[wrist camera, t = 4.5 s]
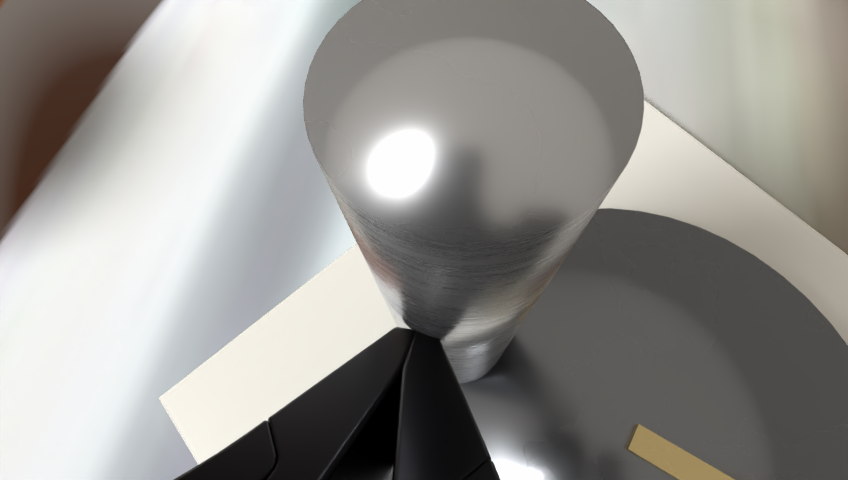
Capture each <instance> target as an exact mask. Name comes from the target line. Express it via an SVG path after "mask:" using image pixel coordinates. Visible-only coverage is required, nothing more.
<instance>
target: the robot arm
mask: <svg viewBox="0 0 848 480" xmlns="http://www.w3.org/2000/svg"><path fill="white" fill-rule="evenodd" d="M392 469H393V474H392V480H501V479H500V477H499V474H498V472H497V470H496V467H495V465H494V463H493V461H491V456H490V454H489V452H488V449H487V447H486V445H485V442H484V440H483V438H482V435H481V433H480V431H479V428H478V426H477V424H476V421H475V419H474V417H473V414H472V412H471V410H470V407H469V405H468V403H467V400H466V398H465V396H464V393H463V391H462V389H461V386H460V384H459V382H458V379H457V377H456V375H455V372H454V370H453V368H452V365H451V363H450V361H449V358H448V356H447V354H446V351H445V349H444V347H443V344H442V342H441V340H440V339H439V338H435V337H431V336H428V335H426V334H423V333H420V332H418V331H415V330H413V329H408V328H401V327H395V328H393V329H392V330H390V331H389V332H388V333H386V334H385V335H383V336H382V337H381V338H379V339H378V340H376V341H375V342H374V343H372V344H371V345H369V346H368V347H367V348H365V349H364V350H362V351H361V352H360V353H358V354H357V355H355V356H354V357H353V358H351V359H350V360H348V361H347V362H346V363H344V364H343V365H341V366H340V367H339V368H337V369H336V370H334V371H333V372H332V373H330V374H329V375H327V376H326V377H325V378H323V379H322V380H320V381H319V382H318V383H316V384H315V385H313V386H312V387H311V388H309V389H308V390H306V391H305V392H304V393H302V394H301V395H299V396H298V397H297V398H295V399H294V400H293V401H291V402H290V403H288V404H287V405H286V406H284V407H283V408H281V409H280V410H279V411H277V412H276V413H274V414H273V415H272V416H270V417H269V418H268V421H266V420H265V421H263V422H261V423H260V424H259V425H257V426H256V427H254V428H253V429H252V430H250V431H249V432H247V433H246V434H245V435H243V436H242V437H240V438H239V439H237V440H236V441H234V442H233V443H231V444H230V445H228V446H227V447H225V448H224V449H222V450H221V451H219V452H218V453H216V454H215V455H213V456H212V457H210V458H208V459H207V460H205V461H203V462H202V463H200V464H199V465H197V466H195V467H194V468H192V469H190V470H189V471H187V472H185V473H184V474H182V475H181V476H179V477H177V478H175V479H174V480H389V478H390V475H391V472H392Z"/></svg>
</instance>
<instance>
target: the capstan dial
mask: <svg viewBox="0 0 848 480" xmlns="http://www.w3.org/2000/svg"><path fill="white" fill-rule="evenodd" d="M303 106H304V121H305V126H306V131H307V135H308V139H309V141H310V144H311V147H312V149H313V152H314V154H315V157H316V159H317V161H318V163H319V165H320V167H321V169H322V171H323V173H324V175H325V177H326V179H327V182H328V184H329V186H330V188H331V190H332V192H333V194H334V196H335V198H336V200H337V202H338V204H339V206H340V209H341V211H342V213H343V215H344V217H345V219H346V221H347V223H348V225H349V227H350V229H351V231H352V233H353V236H354V238H355V240H356V242H357V244H358V246H359V248H360V250H361V252H362V254H363V256H364V258H365V261H366V263H367V265H368V267H369V269H370V271H371V273H372V275H373V277H374V279H375V281H376V283H377V285H378V288H379V290H380V292H381V294H382V296H383V298H384V300H385V302H386V304H387V306H388V308H389V310H390V312H391V315H392V317H393V319H394V321H395V323H396V325H397V327H401V328H408V329H413V330H415V331H418V332H420V333H423V334H426V335H428V336H431V337H435V338H439V339H440V340H441V342H442V344H443V347H444V349H445V351H446V354H447V356H448V358H449V361H450V363H451V365H452V368H453V370H454V372H455V375H456V377H457V379H458V382H459V384H460V386H461V389H462V391H463V393H464V396H465V398H466V400H467V403H468V405H469V407H470V410H471V412H472V414H473V417H474V419H475V421H476V424H477V426H478V428H479V431H480V433H481V435H482V438H483V440H484V442H485V445H486V447H487V449H488V452H489V454H490V456H491V461H493V463H494V465H495V467H496V470H497V472H498V474H499V477H500V479H501V480H848V345H847V344H846V343H845V341H844V340H843V339H842V337H841V336H840V335H839V333H838V332H837V331H836V329H835V328H834V327H833V325H832V324H831V323H830V322H829V321H828V320H827V318H826V317H825V316H824V315H823V314H822V313H821V312H820V311H819V310H818V309H817V308H816V307H815V306H814V304H813V303H812V302H811V301H810V300H809V299H808V298H807V297H806V296H805V295H804V294H803V293H801V292H800V291H799V290H798V289H797V288H796V287H795V286H794V285H792V284H791V283H790V282H789V281H788V280H787V279H786V278H784V277H783V276H782V275H781V274H780V273H778V272H777V271H775V270H774V269H773V268H771V267H770V266H769V265H767V264H766V263H764V262H763V261H762V260H760V259H759V258H757V257H756V256H755V255H753V254H751V253H749V252H748V251H746V250H744V249H743V248H741V247H739V246H737V245H736V244H734V243H732V242H730V241H729V240H727V239H725V238H723V237H720V236H718V235H716V234H714V233H711V232H709V231H707V230H705V229H702V228H700V227H698V226H695V225H692V224H689V223H686V222H683V221H679V220H676V219H673V218H670V217H666V216H661V215H657V214H652V213H647V212H642V211H634V210H624V209H613V208H602V209H598V208H599V207H600V205H601V204H602V202H603V201H604V199H605V198H606V196H607V195H608V193H609V192H610V190H611V189H612V187H613V186H614V184H615V183H616V181H617V180H618V178H619V176H620V175H621V173H622V172H623V170H624V169H625V167H626V166H627V164H628V162H629V160H630V158H631V156H632V154H633V152H634V150H635V148H636V145H637V142H638V139H639V135H640V132H641V129H642V122H643V114H644V95H643V86H642V82H641V77H640V72H639V70H638V67H637V64H636V62H635V59H634V56H633V54H632V52H631V51H630V49H629V47H628V45H627V44H626V42H625V40H624V38H623V37H622V36H621V35H620V33H619V32H618V31H617V29H616V28H615V27H614V25H613V24H612V23H611V22H610V21H609V20H608V19H607V18H606V17H605V16H604V15H603V14H602V13H601V12H600V11H599V10H598V9H596V8H595V7H594V6H592V5H591V4H590V3H589V2H587V1H586V0H362V1H361V2H359V3H358V4H357V5H355V6H354V7H353V8H351V9H350V10H349V11H348V12H347V13H346V14H345V15H344V16H343V17H342V18H341V19H340V20H339V21H338V22H337V23H336V24H335V25H334V26H333V28H332V29H331V30H330V31H329V33H328V34H327V35H326V37H325V38H324V40H323V41H322V43H321V45H320V46H319V48H318V49H317V51H316V54H315V56H314V58H313V61H312V63H311V65H310V68H309V72H308V75H307V79H306V83H305V90H304V99H303ZM392 474H393V469H392V472H391V475H390V478H389V480H392Z"/></svg>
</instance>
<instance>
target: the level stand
mask: <svg viewBox="0 0 848 480" xmlns="http://www.w3.org/2000/svg"><path fill="white" fill-rule="evenodd" d="M602 208H613V209H624V210H634V211H642V212H647V213H652V214H657V215H661V216H666V217H670V218H673V219H676V220H679V221H683V222H686V223H689V224H692V225H695V226H698V227H700V228H702V229H705V230H707V231H709V232H711V233H714V234H716V235H718V236H720V237H723V238H725V239H727V240H729V241H730V242H732V243H734V244H736V245H737V246H739V247H741V248H743V249H744V250H746V251H748V252H749V253H751V254H753V255H755V256H756V257H757V258H759V259H760V260H762V261H763V262H764V263H766V264H767V265H769V266H770V267H771V268H773V269H774V270H775V271H777V272H778V273H780V274H781V275H782V276H783V277H784V278H786V279H787V280H788V281H789V282H790V283H791V284H792V285H794V286H795V287H796V288H797V289H798V290H799V291H800V292H801V293H803V294H804V295H805V296H806V297H807V298H808V299H809V300H810V301H811V302H812V303H813V304H814V306H815V307H816V308H817V309H818V310H819V311H820V312H821V313H822V314H823V315H824V316H825V317H826V318H827V320H828V321H829V322H830V323H831V324H832V325H833V327H834V328H835V329H836V331H837V332H838V333H839V335H840V336H841V337H842V339H843V340H844V341H845V343H846V344H847V345H848V255H847V254H846V253H845V252H843V251H842V250H841V249H839V248H838V247H837V246H835V245H834V244H833V243H831V242H830V241H829V240H828V239H826V238H825V237H824V236H822V235H821V234H820V233H818V232H817V231H816V230H814V229H813V228H812V227H810V226H809V225H808V224H807V223H805V222H804V221H803V220H801V219H800V218H799V217H797V216H796V215H795V214H793V213H792V212H791V211H789V210H788V209H787V208H786V207H784V206H783V205H782V204H780V203H779V202H778V201H776V200H775V199H774V198H772V197H771V196H770V195H768V194H767V193H766V192H764V191H763V190H762V189H761V188H759V187H758V186H757V185H755V184H754V183H753V182H751V181H750V180H749V179H747V178H746V177H745V176H743V175H742V174H741V173H740V172H738V171H737V170H736V169H734V168H733V167H732V166H730V165H729V164H728V163H726V162H725V161H724V160H722V159H721V158H720V157H719V156H717V155H716V154H715V153H713V152H712V151H711V150H709V149H708V148H707V147H705V146H704V145H703V144H701V143H700V142H699V141H698V140H696V139H695V138H694V137H692V136H691V135H690V134H688V133H687V132H686V131H684V130H683V129H682V128H680V127H679V126H678V125H676V124H675V123H674V122H673V121H671V120H670V119H669V118H667V117H666V116H665V115H663V114H662V113H661V112H659V111H658V110H657V109H655V108H654V107H653V106H652V105H650V104H649V103H648V102H646V101H645V100H644V114H643V122H642V129H641V132H640V135H639V139H638V142H637V145H636V148H635V150H634V152H633V154H632V156H631V158H630V160H629V162H628V164H627V166H626V167H625V169H624V170H623V172H622V173H621V175H620V176H619V178H618V180H617V181H616V183H615V184H614V186H613V187H612V189H611V190H610V192H609V193H608V195H607V196H606V198H605V199H604V201H603V202H602V204H601V205H600V207H599V208H598V209H602ZM395 327H397V325H396V323H395V321H394V319H393V317H392V315H391V312H390V310H389V308H388V306H387V304H386V302H385V300H384V298H383V296H382V294H381V292H380V290H379V288H378V285H377V283H376V281H375V279H374V277H373V275H372V273H371V271H370V269H369V267H368V265H367V263H366V261H365V258H364V256H363V254H362V252H361V250H360V248H359V246H358V244H357V243H356V244H355V245H354V246H353V247H351V248H350V249H349V250H347V251H346V252H345V253H344V254H342V255H341V256H340V257H339V258H337V259H336V260H335V261H333V262H332V263H331V264H330V265H328V266H327V267H326V268H324V269H323V270H322V271H321V272H319V273H318V274H317V275H316V276H314V277H313V278H312V279H310V280H309V281H308V282H307V283H305V284H304V285H303V286H301V287H300V288H299V289H298V290H296V291H295V292H294V293H292V294H291V295H290V296H289V297H287V298H286V299H285V300H284V301H282V302H281V303H280V304H278V305H277V306H276V307H275V308H273V309H272V310H271V311H269V312H268V313H267V314H266V315H264V316H263V317H262V318H261V319H259V320H258V321H257V322H255V323H254V324H253V325H252V326H250V327H249V328H248V329H246V330H245V331H244V332H243V333H241V334H240V335H239V336H238V337H236V338H235V339H234V340H232V341H231V342H230V343H229V344H227V345H226V346H225V347H223V348H222V349H221V350H220V351H218V352H217V353H216V354H214V355H213V356H212V357H211V358H209V359H208V360H207V361H206V362H204V363H203V364H202V365H200V366H199V367H198V368H197V369H195V370H194V371H193V372H191V373H190V374H189V375H188V376H186V377H185V378H184V379H183V380H181V381H180V382H179V383H177V384H176V385H175V386H174V387H172V388H171V389H170V390H168V391H167V392H166V393H165V394H163V395H162V396H161V397H159V399H160V401H161V403H162V404H163V406H164V408H165V409H166V411H167V413H168V415H169V416H170V418H171V420H172V421H173V423H174V425H175V426H176V428H177V430H178V431H179V433H180V435H181V436H182V438H183V440H184V441H185V443H186V445H187V446H188V448H189V450H190V451H191V453H192V455H193V456H194V458H195V460H196V461H197V463H198V465H199V464H200V463H202V462H203V461H205V460H207V459H208V458H210V457H212V456H213V455H215V454H216V453H218V452H219V451H221V450H222V449H224V448H225V447H227V446H228V445H230V444H231V443H233V442H234V441H236V440H237V439H239V438H240V437H242V436H243V435H245V434H246V433H247V432H249V431H250V430H252V429H253V428H254V427H256V426H257V425H259V424H260V423H261V422H263V421H265V420H266V421H268V418H269V417H270V416H272V415H273V414H274V413H276V412H277V411H279V410H280V409H281V408H283V407H284V406H286V405H287V404H288V403H290V402H291V401H293V400H294V399H295V398H297V397H298V396H299V395H301V394H302V393H304V392H305V391H306V390H308V389H309V388H311V387H312V386H313V385H315V384H316V383H318V382H319V381H320V380H322V379H323V378H325V377H326V376H327V375H329V374H330V373H332V372H333V371H334V370H336V369H337V368H339V367H340V366H341V365H343V364H344V363H346V362H347V361H348V360H350V359H351V358H353V357H354V356H355V355H357V354H358V353H360V352H361V351H362V350H364V349H365V348H367V347H368V346H369V345H371V344H372V343H374V342H375V341H376V340H378V339H379V338H381V337H382V336H383V335H385V334H386V333H388V332H389V331H390V330H392V329H393V328H395Z"/></svg>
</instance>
